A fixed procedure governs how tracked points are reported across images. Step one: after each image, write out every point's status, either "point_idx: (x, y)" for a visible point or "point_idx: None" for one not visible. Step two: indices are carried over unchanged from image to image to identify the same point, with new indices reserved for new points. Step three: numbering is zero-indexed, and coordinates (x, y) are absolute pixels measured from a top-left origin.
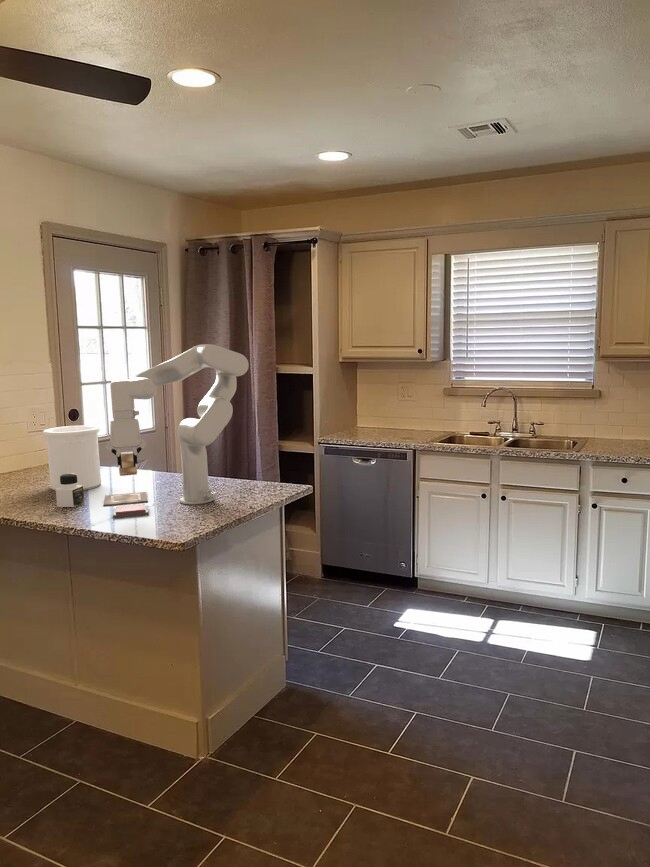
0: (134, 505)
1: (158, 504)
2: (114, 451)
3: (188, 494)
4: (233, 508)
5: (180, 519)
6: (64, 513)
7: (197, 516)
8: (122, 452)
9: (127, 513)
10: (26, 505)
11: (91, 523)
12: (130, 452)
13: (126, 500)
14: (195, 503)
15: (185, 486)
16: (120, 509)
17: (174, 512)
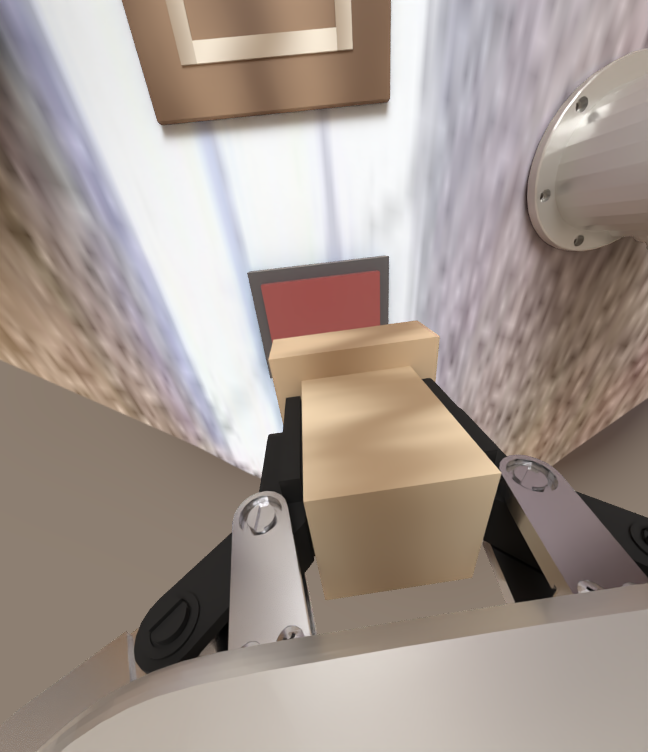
0: (337, 284)
1: (432, 181)
2: (225, 642)
3: (591, 217)
4: (644, 339)
5: None
6: (15, 234)
7: (515, 401)
8: (332, 513)
9: None
10: None
11: (214, 408)
12: (454, 532)
13: (269, 39)
14: (571, 250)
15: (627, 197)
16: (288, 337)
17: (467, 341)
